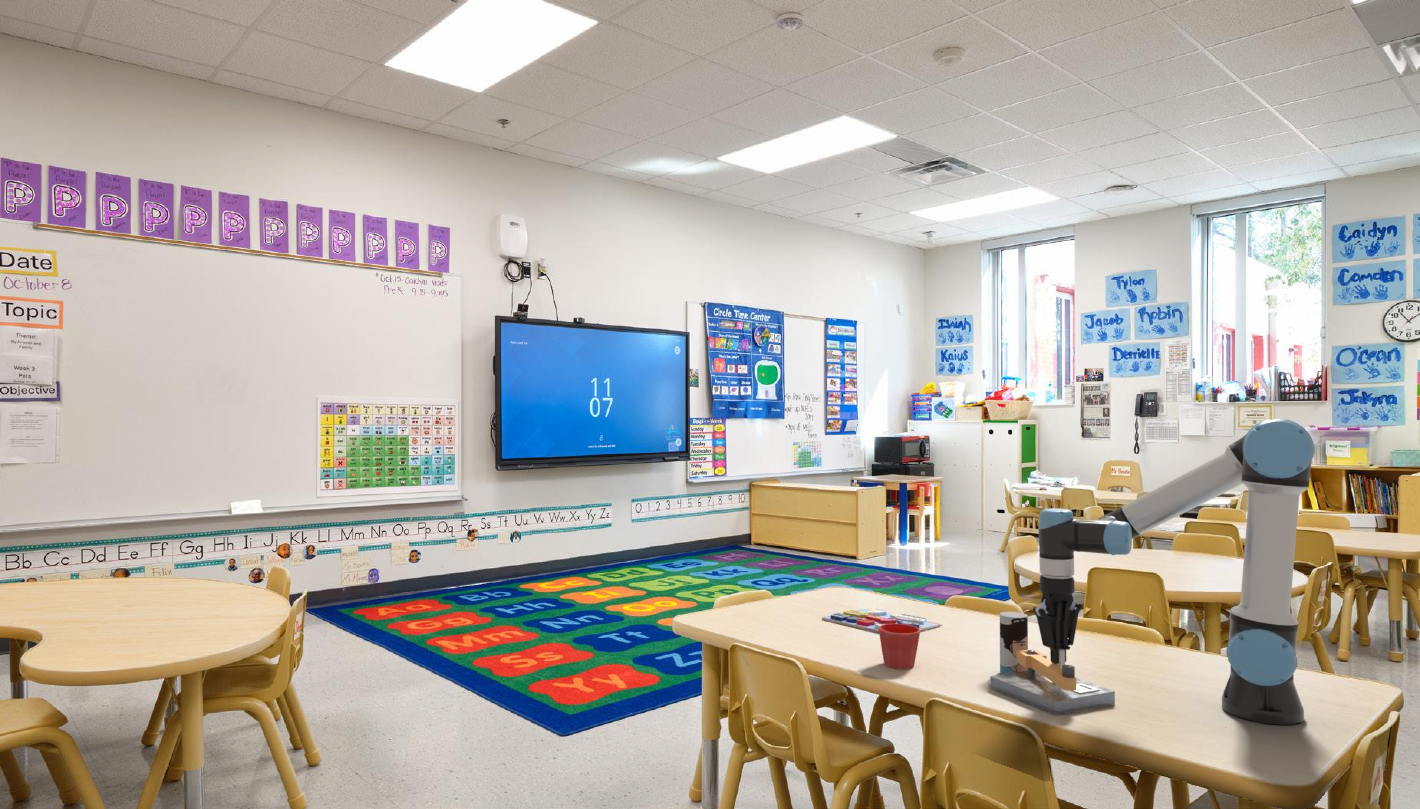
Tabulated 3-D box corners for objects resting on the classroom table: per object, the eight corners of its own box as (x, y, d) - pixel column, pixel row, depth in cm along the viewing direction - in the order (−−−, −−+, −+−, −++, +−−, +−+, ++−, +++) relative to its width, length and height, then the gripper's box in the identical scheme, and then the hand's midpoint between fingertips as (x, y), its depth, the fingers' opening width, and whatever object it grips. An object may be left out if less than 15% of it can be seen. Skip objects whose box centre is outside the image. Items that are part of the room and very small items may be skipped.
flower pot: (928, 664, 221) (927, 627, 221) (906, 673, 213) (906, 635, 213) (892, 656, 228) (892, 621, 229) (870, 665, 220) (870, 628, 221)
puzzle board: (943, 628, 264) (943, 619, 264) (898, 640, 249) (898, 631, 249) (866, 611, 287) (866, 603, 287) (821, 621, 272) (821, 613, 272)
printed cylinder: (1014, 679, 209) (1014, 618, 209) (994, 672, 215) (993, 613, 215) (1033, 675, 212) (1033, 615, 212) (1012, 668, 218) (1012, 610, 218)
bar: (1016, 661, 208) (1016, 641, 208) (1037, 661, 208) (1037, 640, 208) (1059, 690, 185) (1059, 668, 185) (1082, 690, 185) (1082, 667, 185)
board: (1114, 704, 190) (1114, 668, 190) (1055, 715, 183) (1054, 678, 183) (1046, 679, 208) (1046, 647, 209) (990, 688, 201) (990, 655, 201)
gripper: (1065, 570, 202) (1066, 668, 202) (1023, 575, 197) (1025, 675, 197) (1090, 575, 195) (1092, 677, 195) (1048, 580, 190) (1050, 685, 190)
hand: (1058, 676), depth 196 cm, fingers closed
